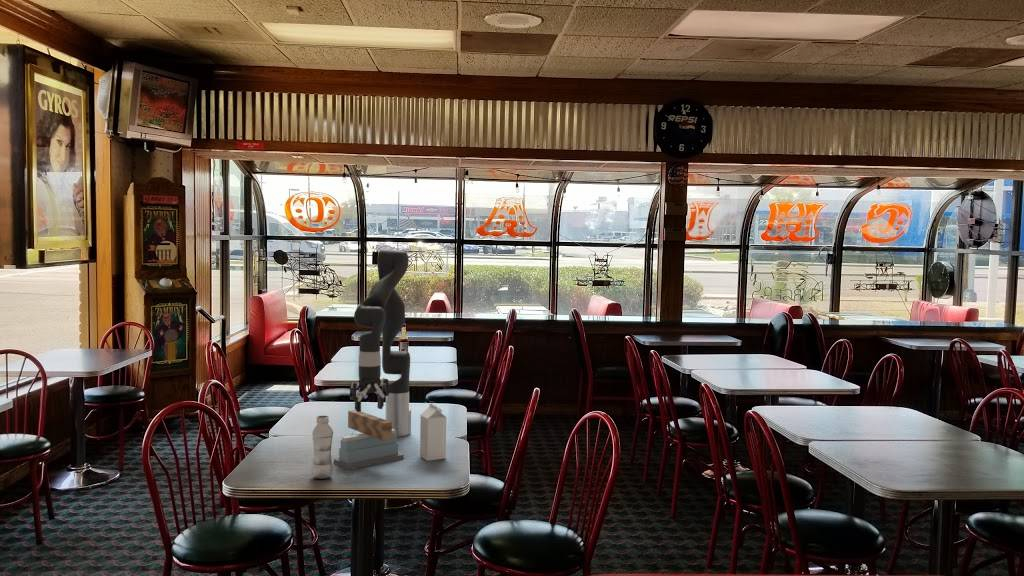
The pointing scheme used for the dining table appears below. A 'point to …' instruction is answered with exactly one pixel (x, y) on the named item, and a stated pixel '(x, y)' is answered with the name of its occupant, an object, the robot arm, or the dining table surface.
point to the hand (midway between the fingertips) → (369, 410)
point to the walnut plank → (370, 425)
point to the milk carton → (433, 434)
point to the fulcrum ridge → (367, 451)
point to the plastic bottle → (322, 448)
